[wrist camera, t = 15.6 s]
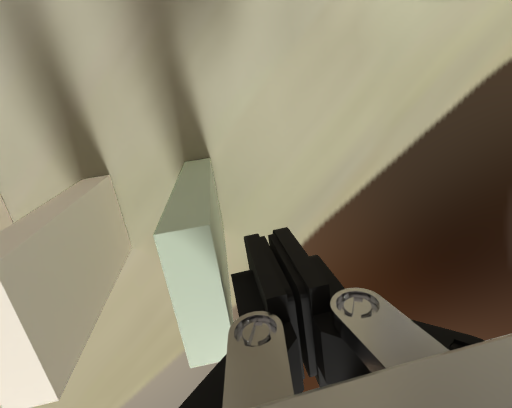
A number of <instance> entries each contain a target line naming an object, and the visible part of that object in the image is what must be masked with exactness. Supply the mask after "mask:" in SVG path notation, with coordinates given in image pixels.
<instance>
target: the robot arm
mask: <svg viewBox="0 0 512 408" xmlns="http://www.w3.org/2000/svg"><path fill="white" fill-rule="evenodd" d="M268 238H269V244H268V242H267V240H266V238H265V236H262V237H260V236H259V234H253V235H249V236H244V242H245V247H246V253H247V258H248V264H249V269H250V270H248V271H244V272H239V273H235V274H231V277H232V282H233V287H234V292H235V298H236V303H237V308H238V313H239V318H238V319H237V320H235V321H234V322H233V324H232V325H231V327H230V329H229V333H228V342H227V354H226V355H225V356H224V357H223V358H222V359H221V360H220V362H219V363H218V364H217V365H216V366H215V367H214V369H213V370H212V371H211V372H210V373H209V374H208V375H207V376H206V377H205V379H204V380H203V381H202V382H201V383H200V384H199V385H198V386H197V388H196V389H195V390H194V391H193V392H192V393H191V394H190V396H189V397H188V398H187V399H186V400H185V401H184V402H183V403H182V405H181V406H180V407H179V408H512V334H509V335H505V336H501V337H498V338H494V339H490V340H487V341H484V340H482V339H480V338H477V337H474V336H471V335H468V334H463V333H459V332H456V331H452V330H449V329H445V328H441V327H437V326H433V325H429V324H425V323H422V322H418V321H414V320H411V319H409V318H407V317H406V316H405V315H403V314H402V313H401V312H400V311H398V310H397V309H396V308H395V307H394V306H392V305H391V304H390V303H388V302H387V301H386V300H385V299H383V298H382V297H381V296H379V295H378V294H376V293H375V292H373V291H370V290H367V289H362V288H348V289H345V288H344V287H343V286H342V285H341V283H340V282H339V281H338V279H337V278H336V277H335V276H334V274H333V273H332V272H331V271H330V270H329V268H328V267H327V266H326V264H325V263H324V262H323V261H322V260H321V258H320V257H319V256H318V255H313V256H308V255H307V253H306V252H305V250H304V249H303V248H302V246H301V245H300V244H299V242H298V241H297V240H296V238H295V237H294V235H293V234H292V233H291V231H290V230H289V229H288V228H287V227H286V228H281V229H277V230H273V234H271V235H268ZM269 245H270V246H269ZM303 363H304V365H305V368H306V371H307V373H308V375H309V377H312V376H315V377H316V379H317V381H318V384H319V386H320V388H316V389H313V390H310V391H306V392H303V390H304V385H303V379H304V378H305V377H304V369H303ZM302 392H303V393H302Z"/></svg>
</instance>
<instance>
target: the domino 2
mask: <svg viewBox="0 0 512 408" xmlns="http://www.w3.org/2000/svg"><path fill="white" fill-rule="evenodd" d="M153 236H154V240H155V243H156V247H157V250H158V254H159V258H160V261H161V265H162V268H163V272H164V276H165V279H166V283H167V287H168V290H169V294H170V297H171V301H172V305H173V308H174V312H175V315H176V319H177V323H178V326H179V330H180V333H181V337H182V341H183V344H184V348H185V352H186V355H187V359H188V362H189V366H190V368H194V367H198V366H203V365H207V364H212V363H216V362H220V360H221V359H222V358H223V357H224V356H225V355H226V354H227V342H228V333H229V329H230V327H231V325H232V324H233V315H232V305H231V295H230V285H229V275H228V265H227V255H226V246H225V236H224V228H223V223H222V217H221V212H220V207H219V201H218V196H217V191H216V186H215V180H214V175H213V170H212V164H211V159H210V158H206V159H200V160H194V161H188V162H184V165H183V167H182V169H181V172H180V174H179V176H178V179H177V181H176V183H175V186H174V188H173V190H172V193H171V195H170V197H169V200H168V202H167V204H166V207H165V209H164V211H163V214H162V216H161V218H160V221H159V223H158V225H157V228H156V230H155V232H154V235H153Z"/></svg>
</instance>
